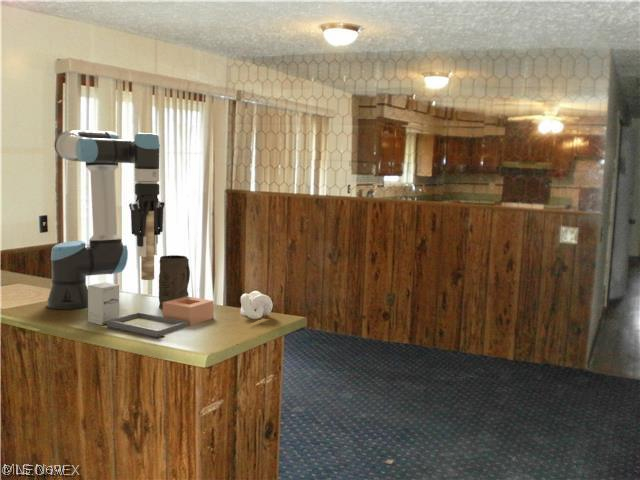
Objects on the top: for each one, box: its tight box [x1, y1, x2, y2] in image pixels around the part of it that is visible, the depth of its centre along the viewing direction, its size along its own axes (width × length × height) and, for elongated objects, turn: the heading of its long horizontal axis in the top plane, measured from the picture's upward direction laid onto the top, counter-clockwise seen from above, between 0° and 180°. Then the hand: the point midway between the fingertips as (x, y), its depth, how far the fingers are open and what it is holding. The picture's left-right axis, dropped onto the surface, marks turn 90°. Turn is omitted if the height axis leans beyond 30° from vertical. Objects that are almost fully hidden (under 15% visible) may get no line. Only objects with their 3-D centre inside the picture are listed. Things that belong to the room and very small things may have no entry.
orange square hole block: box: [162, 295, 215, 326], centre depth 216 cm, size 12×12×7 cm
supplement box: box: [87, 282, 120, 326], centre depth 213 cm, size 7×7×13 cm
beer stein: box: [158, 254, 191, 310], centre depth 235 cm, size 15×11×20 cm
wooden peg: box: [140, 211, 155, 281], centre depth 203 cm, size 4×4×22 cm
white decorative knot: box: [240, 290, 274, 320], centre depth 223 cm, size 11×12×9 cm
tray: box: [106, 311, 189, 340], centre depth 207 cm, size 22×14×2 cm, turn 61°
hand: (147, 255), depth 204 cm, fingers closed on wooden peg, 4 cm apart
